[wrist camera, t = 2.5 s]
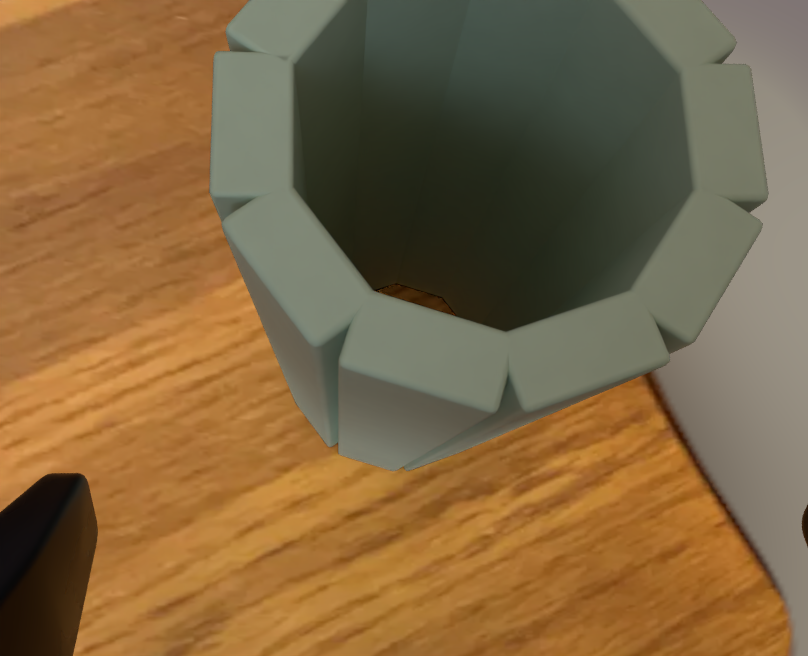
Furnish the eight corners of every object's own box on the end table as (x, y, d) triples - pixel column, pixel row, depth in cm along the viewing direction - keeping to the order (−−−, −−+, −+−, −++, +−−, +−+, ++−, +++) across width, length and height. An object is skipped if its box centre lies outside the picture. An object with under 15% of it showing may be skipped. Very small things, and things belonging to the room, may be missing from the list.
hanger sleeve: (473, 495, 20) (717, 482, 7) (258, 430, 20) (114, 298, 7) (527, 295, 21) (812, -20, 8) (325, 232, 21) (306, -179, 8)
